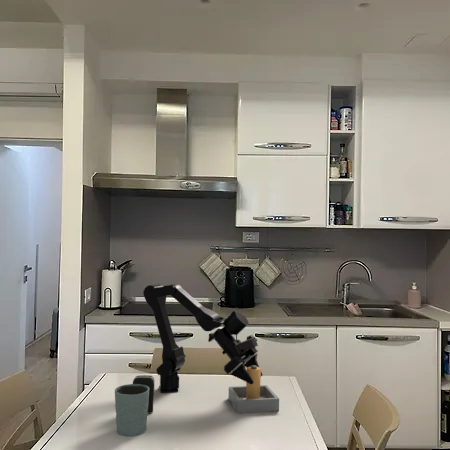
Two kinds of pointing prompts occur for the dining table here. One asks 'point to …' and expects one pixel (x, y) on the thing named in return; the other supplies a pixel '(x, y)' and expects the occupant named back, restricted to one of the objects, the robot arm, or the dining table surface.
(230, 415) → the dining table surface
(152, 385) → the battery charger
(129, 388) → the green cup
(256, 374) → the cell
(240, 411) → the gray square tray
